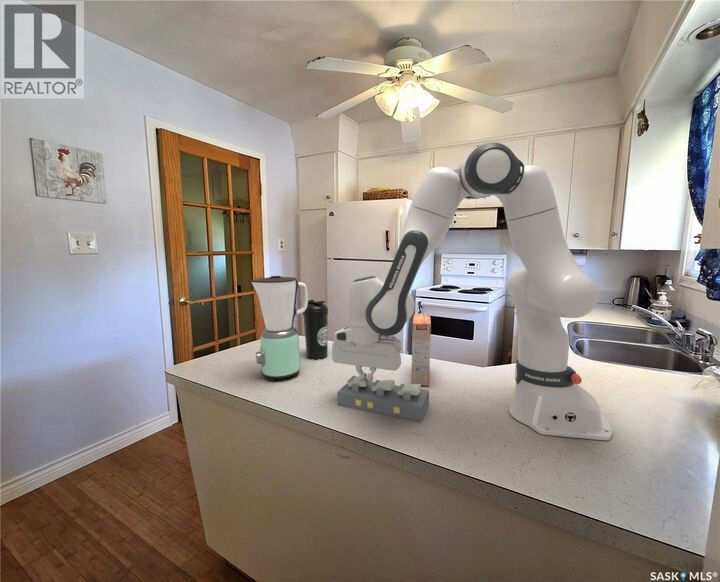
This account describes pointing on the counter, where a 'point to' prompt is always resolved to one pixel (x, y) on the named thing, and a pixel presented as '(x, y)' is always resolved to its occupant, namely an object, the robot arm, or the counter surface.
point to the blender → (279, 326)
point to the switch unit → (384, 401)
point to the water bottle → (316, 330)
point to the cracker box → (421, 349)
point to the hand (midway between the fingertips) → (366, 380)
